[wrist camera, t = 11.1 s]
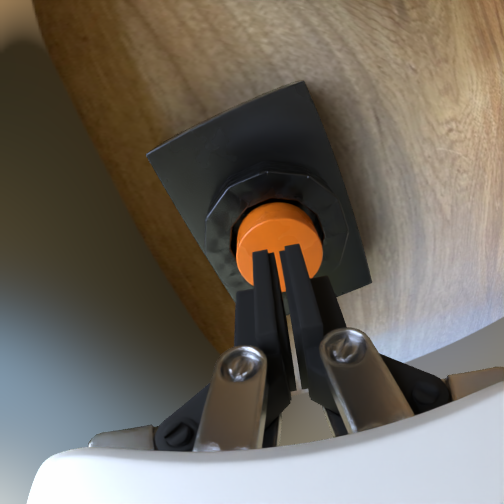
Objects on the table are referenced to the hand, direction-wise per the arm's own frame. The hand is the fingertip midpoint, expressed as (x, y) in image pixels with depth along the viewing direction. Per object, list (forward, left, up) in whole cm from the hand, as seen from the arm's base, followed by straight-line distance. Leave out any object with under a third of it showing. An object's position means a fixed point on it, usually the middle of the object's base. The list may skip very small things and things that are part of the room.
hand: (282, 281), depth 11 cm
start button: (0, 0, -4) cm, 4 cm away
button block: (0, 0, -7) cm, 7 cm away
